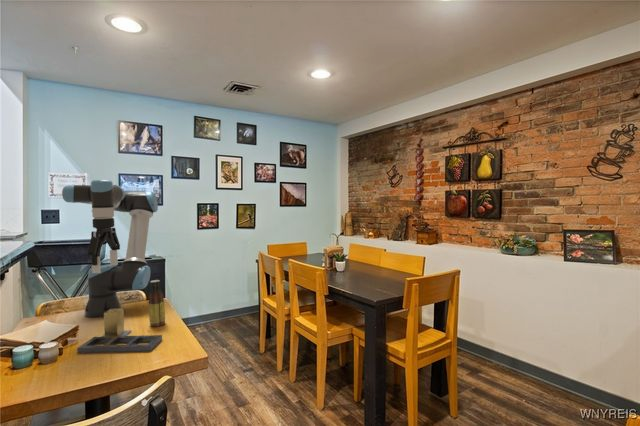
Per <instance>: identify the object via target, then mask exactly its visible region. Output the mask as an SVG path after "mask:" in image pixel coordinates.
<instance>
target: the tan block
mask: <svg viewBox="0 0 640 426" xmlns="http://www.w3.org/2000/svg"><path fill="white" fill-rule="evenodd" d="M124 314H125V313H124V308H121V309H110V310H108V311H106V312H104V316H103V320H104V321H103V325H104V326H103V328H104V332H103V333H104V334H105V337H107V336H120V335H121V334H122V333H124V331H125V318H124Z"/></svg>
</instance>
